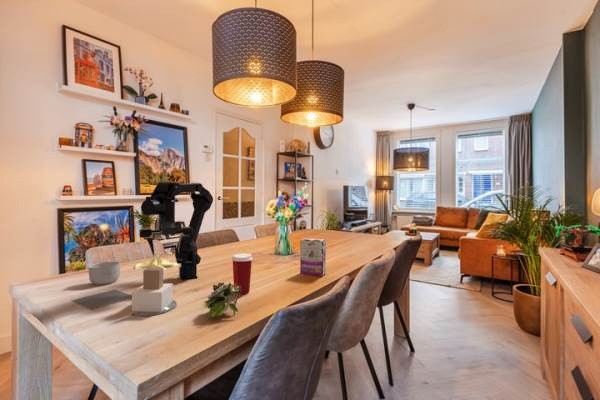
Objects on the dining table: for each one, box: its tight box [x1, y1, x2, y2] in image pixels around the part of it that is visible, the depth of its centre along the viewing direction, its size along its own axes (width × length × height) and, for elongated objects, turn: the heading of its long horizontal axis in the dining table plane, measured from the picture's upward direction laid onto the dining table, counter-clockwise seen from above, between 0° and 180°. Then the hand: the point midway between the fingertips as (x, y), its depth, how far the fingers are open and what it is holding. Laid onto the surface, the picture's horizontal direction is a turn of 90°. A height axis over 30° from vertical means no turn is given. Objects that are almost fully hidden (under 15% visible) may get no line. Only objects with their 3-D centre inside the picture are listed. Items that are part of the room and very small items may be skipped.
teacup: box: [87, 260, 121, 286], centre depth 122 cm, size 14×11×8 cm
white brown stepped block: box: [131, 268, 174, 312], centre depth 97 cm, size 9×9×12 cm
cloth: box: [133, 254, 179, 271], centre depth 149 cm, size 22×19×6 cm
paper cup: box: [231, 253, 253, 296], centre depth 113 cm, size 8×8×14 cm
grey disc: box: [131, 300, 178, 317], centre depth 98 cm, size 14×14×4 cm
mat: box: [71, 289, 132, 311], centre depth 103 cm, size 14×14×1 cm
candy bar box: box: [299, 237, 327, 277], centre depth 141 cm, size 11×5×16 cm, turn 69°
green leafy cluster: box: [204, 282, 242, 320], centre depth 94 cm, size 11×11×12 cm
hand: (166, 254), depth 117 cm, fingers open, 9 cm apart
